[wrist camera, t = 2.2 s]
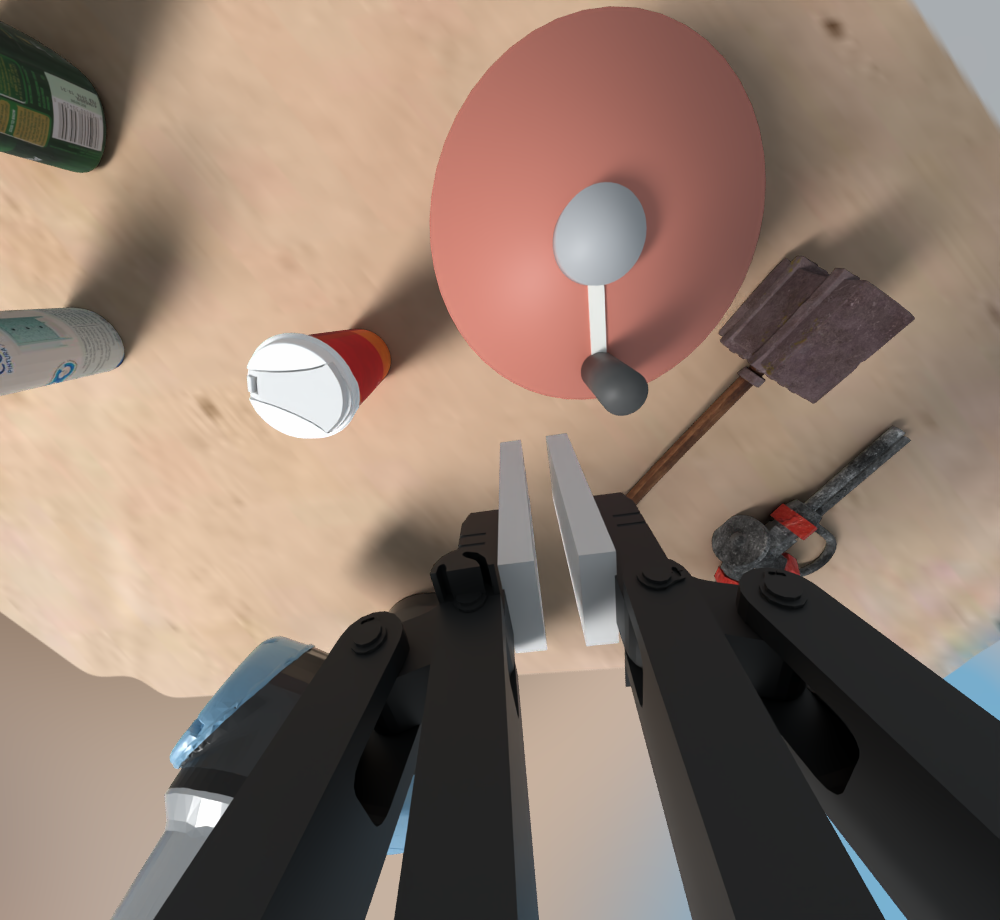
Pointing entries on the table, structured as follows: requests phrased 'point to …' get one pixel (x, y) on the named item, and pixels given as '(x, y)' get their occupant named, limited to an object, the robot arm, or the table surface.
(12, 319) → the spray paint can
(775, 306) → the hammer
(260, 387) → the paper cup
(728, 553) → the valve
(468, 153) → the handwheel
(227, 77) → the table surface
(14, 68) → the coffee jar
